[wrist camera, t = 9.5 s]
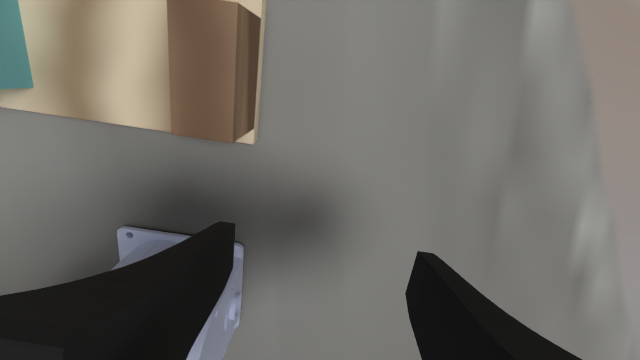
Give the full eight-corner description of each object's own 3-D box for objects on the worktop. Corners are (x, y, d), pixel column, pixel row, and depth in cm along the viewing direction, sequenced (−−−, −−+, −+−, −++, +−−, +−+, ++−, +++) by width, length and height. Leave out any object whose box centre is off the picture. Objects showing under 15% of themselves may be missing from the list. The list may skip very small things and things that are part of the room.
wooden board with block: (266, 1, 17) (239, -26, 12) (257, 140, 20) (231, 162, 15) (-85, -50, 17) (-247, -96, 12) (-45, 96, 20) (-165, 103, 15)
